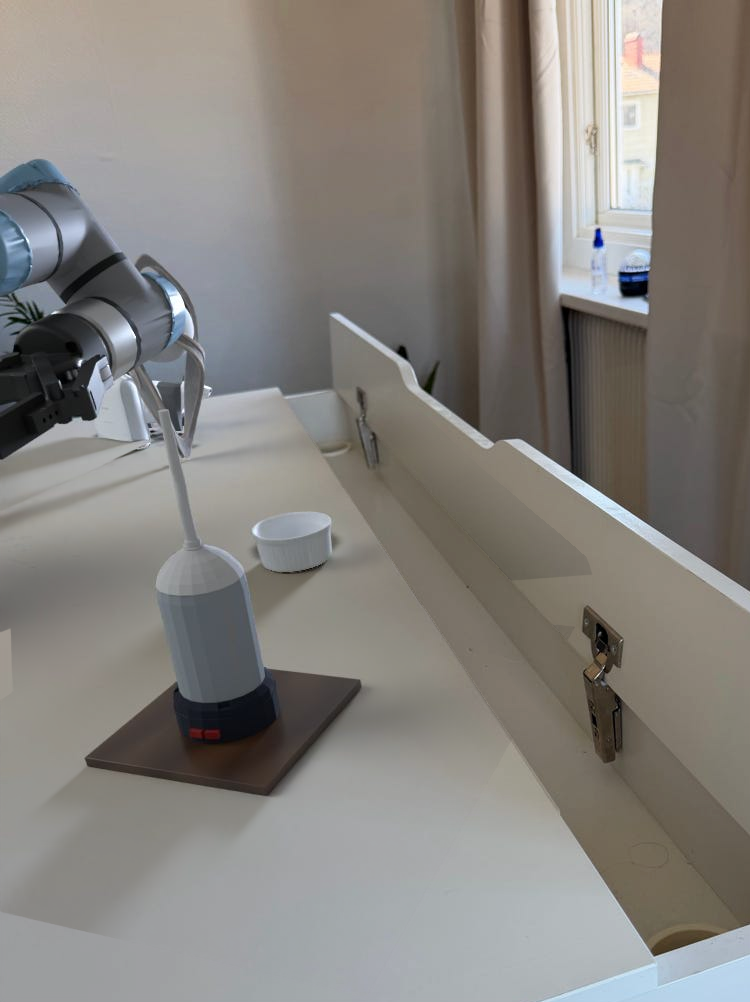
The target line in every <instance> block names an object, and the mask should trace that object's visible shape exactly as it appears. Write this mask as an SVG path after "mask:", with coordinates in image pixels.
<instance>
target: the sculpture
mask: <svg viewBox="0 0 750 1002" xmlns="http://www.w3.org/2000/svg"><path fill="white" fill-rule="evenodd" d="M132 264H133V265H134V266H135V268H136V269H137V270H138V272H143V270H144V269H146V268H151V269H152V270H153V271H155V272H156V274H157V275H159V276H161V277H163V278H164V279H166V280H167V281H169V282H170V283H171V284H172V285H173V286H174V287H175V288H176V289H177V291H178V292H179V294H180V296H181V298H182V300H183V302H184V306H185V310H186V322H185V327H184V329H183V332H182V334H181V335H180V336H179V338H178V339H177V340H176V341H175V342H174V343H172V344H171V345H170V346H169V347H167V348H166V349H165V350H163V351H162V352H161V353H159V354H158V355H157V356H156V357H154V358H152V359H150V360H149V362H153V363H158V364H165V363H171V362H174V361H177V360H178V359H180V358H182V357H183V356H184V355H185V363H184V375H183V376H184V419H185V423H184V433H183V434H181V436H180V434H177V432H176V431H175V429H174V427H173V424H172V427H173V432H174V436H175V440H176V445H177V449H178V453H179V457H180V458H181V459H182V458H184V457H185V458H188V457H190V458H191V454H192V449H193V444H194V438H195V434H196V429H197V423H198V419H199V414H200V410H201V406H202V402H203V399H202V397H203V392H204V385H205V384H206V373H205V371H206V370H205V365H206V353H205V350H204V348H203V346H202V345H201V344H200V339H199V338H200V336H199V335H200V334H199V333H200V331H199V322H198V315H197V311H196V307H195V306H194V302H193V301H192V299H191V296H190V294H188V292H187V291H186V289H185V288H184V286H183V285H182V284H181V283H180V282H179V281H178V280H177V279H176V278H175V276H173V275H172V273H170V272H169V271H168V270H167V269H166V268H165V267H164V266H163V265H162V264H161V263H160V262H159V261H158V260H156V259H155V258H153V256H152V255H150V254H147V253H141V254H139V255H138V256H137V257H136V258H135V260H134V262H133V263H132ZM128 375H129V376H130V377H131V378H132V380H133V381H134V383H135V386H136V388H137V390H138V392H139V395H140V397H141V399H142V400H143V402H144V404H145V406H146V407H147V409H148V410H149V412H150V414H151V415H152V416H153V418H154V419H155V421H156V422H157V423H156V424H157V425H158V427H159V429H160V430H161V431H162V428H161V423H160V418H159V413H158V411H159V410H161V409H162V410H163V409H166V408H165V406H164V404H163V402H162V400H161V398H160V396H159V394H158V392H157V390H156V388H155V386H154V384H153V382H152V381H153V380H152V379H151V377H150V375H149V373H148V371H147V369H146V368H145V365H144V363H143V364H142V365H140V366H138V367H136V368H135V369H133V370H131V371H130V372H128ZM171 423H172V422H171Z"/></svg>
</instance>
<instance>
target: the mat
mask: <svg viewBox="0 0 750 1002" xmlns="http://www.w3.org/2000/svg"><path fill="white" fill-rule="evenodd" d="M267 669H268V670H269V671H270V672H271V673H272V675H273V679H274V680H275V683H276V688H277V693H278V699H279V704H280V713H279V715H278V717H277V719H276V720H275V721H274V722H273V723H272V724H271V725H270V726H269V727H267V728H266V729H264V730H262V731H260V732H259V733H257V734H255V735H252V736H250V737H247V738H244V739H241V740H237V741H232V742H227V743H209V744H207V743H201V742H196V741H193V740H191V739H189V738H187V737H185V736H184V735H183V734H182V733H181V731H180V730H179V726H178V722H177V718H176V714H175V710H174V700H173V693H174V690H175V688H176V687H177V685H178V683H177V681H175V682H174V683H173V684H171V686H169V687H168V688H166V690H164V691H163V692H162V693H160V694H159V695H158V696H157V697H156V698H155V699H154V700H152V701H151V702H150V703H148V705H146V706H145V707H144V708H142V710H140V711H139V712H138V713H137V714H135V715H134V716H133V717H132V718H130V719H129V720H128V721H127V722H125V723H124V724H123V725H122V726H121V727H120V728H118V729H117V730H116V731H115V732H114V733H113V734H111V735H110V736H108V738H106V739H105V740H104V741H103V742H102V743H100V744H99V745H98V746H97V747H95V749H93V750H92V751H90V752H89V753H88V754H87V755H86V756H84V761H85V765H86V766H87V767H92V768H97V769H102V770H103V769H104V770H110V771H115V772H121V773H128V774H132V775H133V774H135V775H139V776H145V777H152V778H159V779H164V780H169V781H175V782H176V781H177V782H183V783H188V784H195V785H201V786H206V787H213V788H217V789H225V790H230V791H237V792H244V793H249V794H255V795H259V796H260V795H261V796H268V795H269V794H270V793H271V791H272V790H273V789H274V788H275V787H276V786H277V785H278V784H279V782H280V781H281V780H282V779H283V778H284V777H285V776H286V774H287V773H288V772H289V771H290V770H291V769H292V767H294V765H295V764H297V762H298V761H299V760H300V758H302V757H303V755H304V754H305V752H307V751H308V749H309V748H311V746H312V745H313V744H314V742H316V740H317V739H318V738H319V737H320V736H321V735H322V733H323V732H325V730H326V728H328V727H329V725H330V724H331V723H332V722H333V721H334V720H335V719H336V717H337V716H338V715H339V714H340V713H341V711H342V710H344V708H345V707H346V706H347V705H348V704H349V702H350V701H351V700H352V699H353V698H354V696H356V694H357V693H358V692H359V691H360V690H361V689H362V680H361V678H351V677H345V676H343V677H342V676H334V675H327V674H317V673H309V672H300V671H291V670H283V669H274V668H267Z"/></svg>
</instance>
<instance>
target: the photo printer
mask: <svg viewBox="0 0 750 1002" xmlns="http://www.w3.org/2000/svg"><path fill="white" fill-rule="evenodd" d="M93 423H94V427H95V431H96V435H97V438H98V439H109V440H114V441H115V440H116V441H121V442H130V443H131V442H132V443H133V442H137V441H142V440H146V441H147V440H148V441H149V442H147V443H145V444H143V445H140V446H138V448H141V447H145V446H148V445H149V444H150V445H152V441H150V440H152V438H151V436H150V434H149V429H148V425H147V421H146V417H145V413H144V408H143V404H142V400H141V397H140V395H139V392H138V390H137V388H136V386H135V383H134V381H133V380H132V378H131V376H130V374H128V373H126V374H125V375H123V376H121V377H120V378H118V379H117V380H115V381H114V385H112V386H111V387H110V389H107V390H106V391H105V394H104V397H103V401H102V404H101V407H100V411H99V414H98V417H97V418H95V419H94V420H93Z"/></svg>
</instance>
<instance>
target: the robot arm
mask: <svg viewBox="0 0 750 1002" xmlns="http://www.w3.org/2000/svg"><path fill="white" fill-rule="evenodd" d="M45 282H46V283H47V284H48V285H49V286H50V288H51V290H52V291H54V293H55V294H56V295H57V297H59V299H60V300H61V301H62V302H63V304H64V305H65V306H62V307H60V308H58V309H56V310H54V311H53V312H52V313H50V314H48V315H46V316H43V317H41V318H40V319H37V320H35V321H34V322H31V323H29V324H27V325H25V326H24V327H23V328H22V329H20V331H19V332H18V334H17V335H16V338H15V340H14V343H13V346H12V352H9V353H6V354H2V355H0V406H4V405H8V404H12V403H14V404H12V405H10V406H9V407H7V408H5V409H3V410H2V411H0V461H1V460H2V461H3V460H5V459H6V458H8V457H9V456H11V455H13V454H14V453H16V452H17V451H18V450H21V449H22V448H23V447H25V446H26V445H28V444H29V443H31V442H33V441H34V440H36V439H38V438H39V437H41V436H42V435H44V434H45V433H47V432H48V431H50V430H51V429H53V428H54V427H55V426H56V425H68V424H70V423H72V422H73V421H74V418H73V417H78V416H80V417H81V421H83V422H91V421H92V422H93V421H94V419H95V418H97V417H98V414H99V411H100V407H101V404H102V401H103V397H104V394H105V391H106V390H107V389H110V387H111V386H112V385H114V381H115V380H117V379H118V378H120V377H121V376H123V375H125V374H129V372H130V371H131V370H133V369H135V368H136V367H138V366H140V365H142V364H143V365H144V364H145V363H147V362H148V361H150V359H152V358H154V357H156V356H157V355H158V354H159V353H161V352H162V351H163V350H165V349H166V348H167V347H169V346H170V345H171V344H172V343H174V342H175V341H176V340H177V339H178V338H179V336H180V335H181V334H182V332H183V329H184V327H185V322H186V310H185V306H184V302H183V300H182V298H181V296H180V294H179V292H178V291H177V289H176V288H175V287H174V286H173V285H172V284H171V283H170V282H169V281H167V280H166V279H164V278H163V277H161V276H159V274H158V273H155V272H151V271H141V272H138V270H137V269H136V268H135V266H134V265H133V263H132V261H131V259H129V258H128V257H127V256H126V255H125V253H124V252H123V251H122V250H121V248H120V247H119V246H118V244H117V243H116V241H115V240H114V239H113V238H112V236H111V235H110V234H109V232H108V231H107V230H106V229H105V227H104V226H103V225H102V223H101V222H100V221H99V219H98V218H97V217H96V215H95V214H94V212H93V211H92V209H91V208H90V207H89V206H88V205H87V203H86V202H85V201H84V199H83V198H82V196H81V194H80V192H79V191H78V189H77V188H76V187H75V186H74V184H72V183H70V182H69V180H68V179H67V178H66V177H65V176H64V174H62V172H61V171H60V170H59V169H58V168H57V167H56V165H55V164H53V162H51V161H49V160H47V159H45V158H34V159H30V160H29V161H27V162H26V163H21V164H19V165H17V166H15V167H14V168H12V169H10V170H8V172H6V173H5V174H4V175H2V176H1V177H0V297H4V296H7V295H10V294H13V293H14V292H16V291H18V290H20V289H21V290H22V289H24V288H27V287H30V286H33V285H37V284H42V283H45Z"/></svg>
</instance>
